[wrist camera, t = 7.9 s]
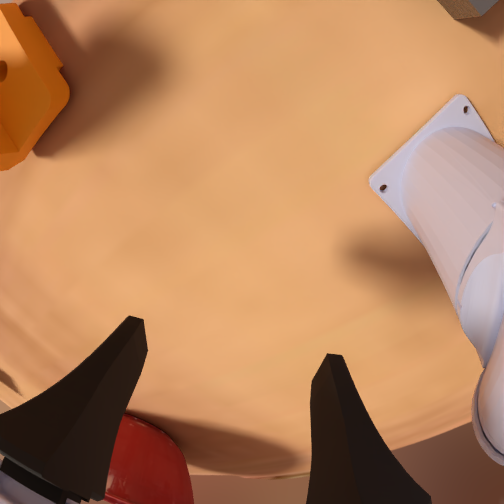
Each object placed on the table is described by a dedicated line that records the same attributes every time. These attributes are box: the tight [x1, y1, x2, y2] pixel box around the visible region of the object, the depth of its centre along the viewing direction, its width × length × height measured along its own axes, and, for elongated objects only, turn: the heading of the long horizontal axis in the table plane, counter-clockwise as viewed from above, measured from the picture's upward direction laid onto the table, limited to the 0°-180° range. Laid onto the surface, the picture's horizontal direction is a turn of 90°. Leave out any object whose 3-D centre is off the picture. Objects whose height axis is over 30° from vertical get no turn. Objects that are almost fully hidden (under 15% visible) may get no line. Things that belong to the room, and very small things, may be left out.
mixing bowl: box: [103, 413, 194, 504], centre depth 39 cm, size 28×28×16 cm
